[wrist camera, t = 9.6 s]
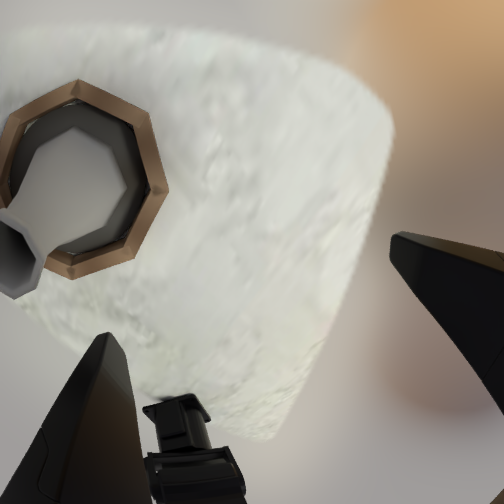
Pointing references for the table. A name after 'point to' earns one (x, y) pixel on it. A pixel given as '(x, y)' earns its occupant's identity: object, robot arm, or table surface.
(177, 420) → the robot arm
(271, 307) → the table surface
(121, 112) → the brown octagonal tray
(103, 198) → the flask
